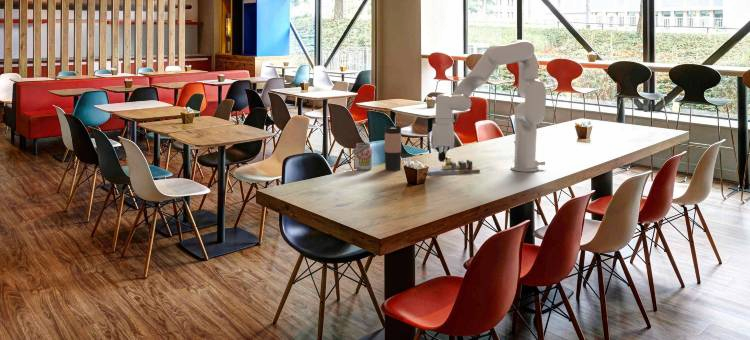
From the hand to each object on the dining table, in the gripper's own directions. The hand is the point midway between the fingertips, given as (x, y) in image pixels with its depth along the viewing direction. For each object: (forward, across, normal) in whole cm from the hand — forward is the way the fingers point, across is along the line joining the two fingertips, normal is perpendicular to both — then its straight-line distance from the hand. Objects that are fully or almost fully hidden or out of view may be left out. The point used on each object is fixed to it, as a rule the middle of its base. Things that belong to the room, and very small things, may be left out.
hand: (441, 161), depth 312 cm
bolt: (+3, -7, 0) cm, 7 cm away
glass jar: (+7, +34, -16) cm, 38 cm away
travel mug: (+6, +20, -12) cm, 24 cm away
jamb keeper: (+5, -12, 0) cm, 13 cm away
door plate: (+5, 0, 0) cm, 5 cm away
